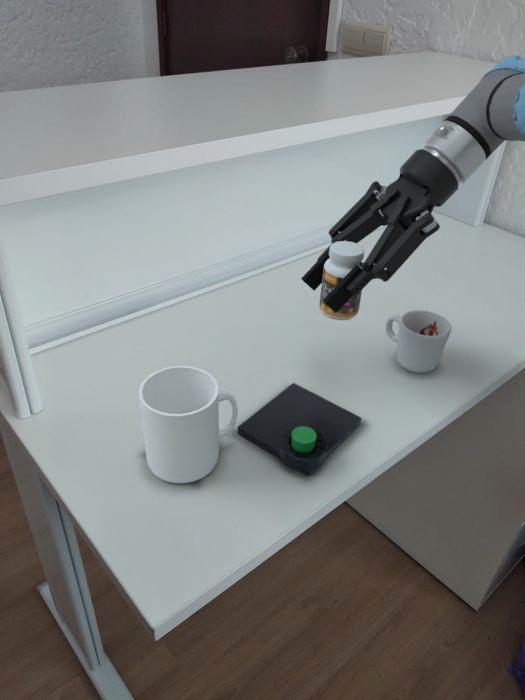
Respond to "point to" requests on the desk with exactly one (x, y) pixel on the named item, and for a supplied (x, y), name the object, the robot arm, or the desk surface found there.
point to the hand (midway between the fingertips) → (318, 295)
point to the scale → (294, 411)
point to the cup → (419, 339)
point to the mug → (182, 422)
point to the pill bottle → (340, 277)
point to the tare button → (303, 439)
